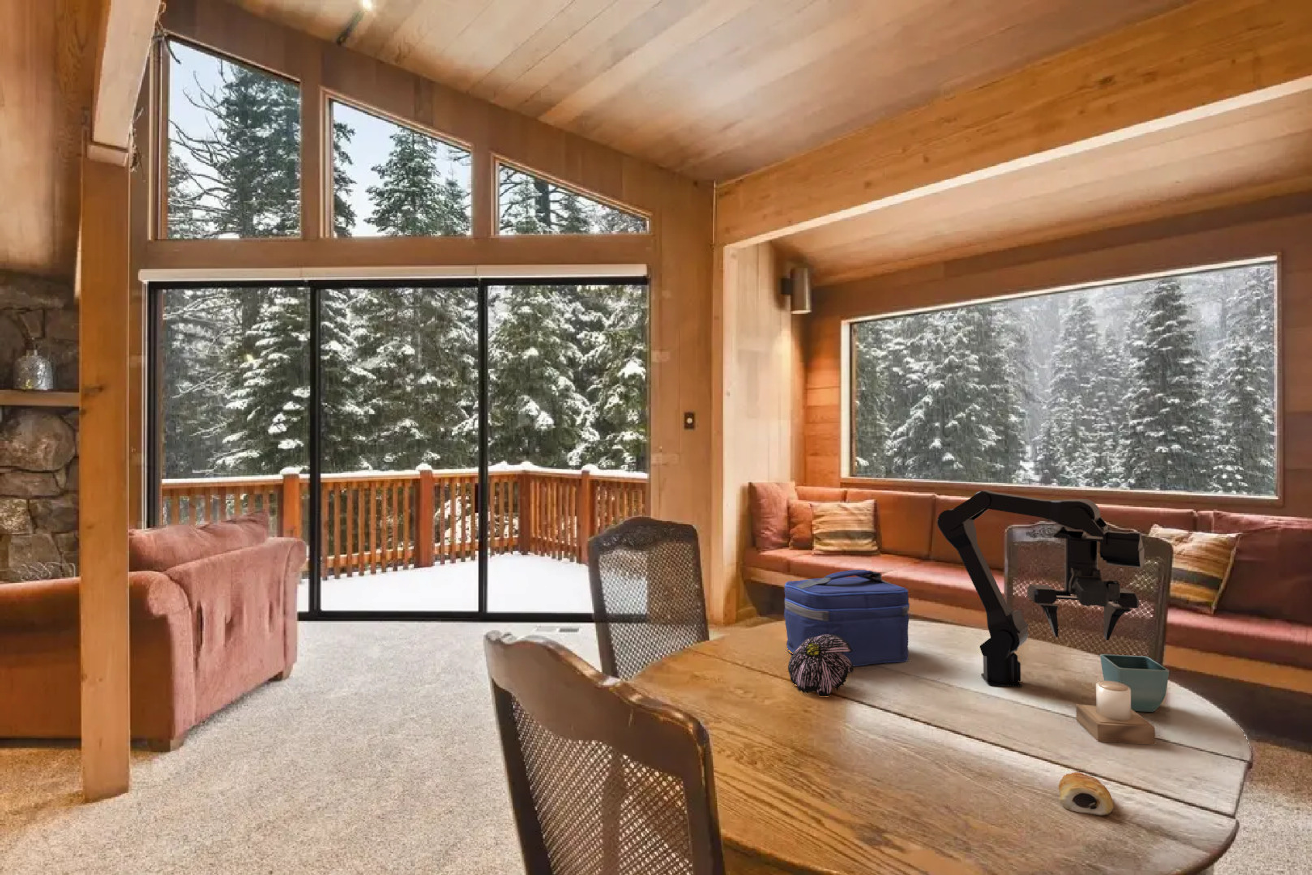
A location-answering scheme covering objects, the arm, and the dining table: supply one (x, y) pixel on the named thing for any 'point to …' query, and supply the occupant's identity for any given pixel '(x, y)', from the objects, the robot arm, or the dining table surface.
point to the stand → (1115, 727)
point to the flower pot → (1137, 679)
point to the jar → (1113, 700)
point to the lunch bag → (850, 615)
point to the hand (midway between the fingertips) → (1081, 638)
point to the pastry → (1084, 794)
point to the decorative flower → (820, 664)
